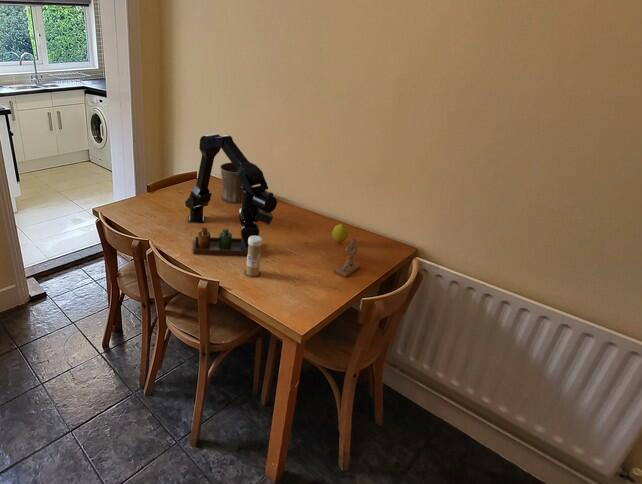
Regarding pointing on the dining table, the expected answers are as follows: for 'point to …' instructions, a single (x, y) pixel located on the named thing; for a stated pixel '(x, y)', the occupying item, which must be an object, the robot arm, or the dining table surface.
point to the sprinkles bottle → (254, 255)
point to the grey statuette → (349, 266)
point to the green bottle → (225, 240)
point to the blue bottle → (243, 244)
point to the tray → (216, 250)
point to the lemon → (340, 233)
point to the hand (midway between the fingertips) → (246, 241)
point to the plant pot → (231, 183)
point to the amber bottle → (204, 239)
